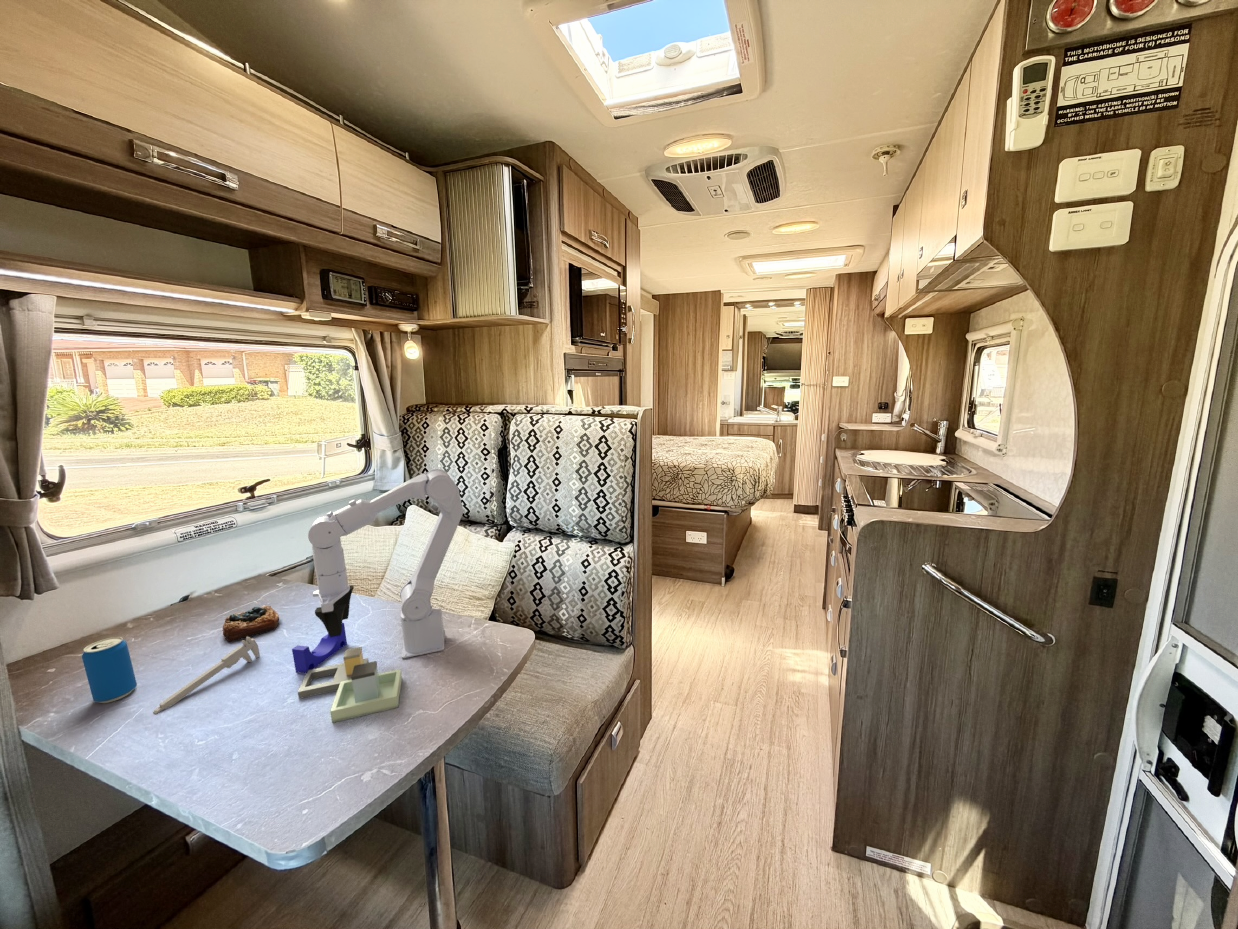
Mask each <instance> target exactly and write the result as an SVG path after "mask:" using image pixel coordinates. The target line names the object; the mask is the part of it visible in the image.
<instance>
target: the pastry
mask: <svg viewBox="0 0 1238 929" xmlns="http://www.w3.org/2000/svg"><path fill="white" fill-rule="evenodd" d="M279 620H280V615H279V613H278V612H277V611H276V610H275V609H273V607H271V605H264V606H262V607H261V606H254V607H251V609H250V610H246V611H242V612H235V613H232V614H230V615H229V616H227V617H226V618H225V619H224V624H223V625H222V636H223V637H224V638H225V639H226V640H227V641H228V643H232V642H236V641H240V640H243V639H245V640H246V637H250V638H251V637H254V636H255V637H256V636H259V635H261V634H264V633H268V632H270V631H274V630H276V629H277V627H278V626H279V623H280V622H279Z"/></svg>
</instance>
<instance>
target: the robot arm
mask: <svg viewBox="0 0 1238 929" xmlns="http://www.w3.org/2000/svg"><path fill="white" fill-rule="evenodd" d="M426 495H427V496H428V498H430V499H431V500H432V501H433V502H434V503H435V504H436V505H437V507H438V510H439V511H440V513H439V515H438V516H437V519H436V521H435V524H434V527H433V529H432V531H431V534H430V536H429V539H428V541H427V543H426V545H425V548H424V550H423V553H422V555H421V557H420V560H419V562H418V565H417V567H416V570H415V571H414V572H413V573H412V574H411V576H410V578H409V580H408V581H407V582H406V583H405V584H404V585H403V586H402V587H401V589H400V592H399V598H400V600H401V612H400V615H399V616H400V623H401V624H400V625H401V630H402V631H401V632H402V638H403V639H402V640H403V646H402V651H401V659H408V658H412V657H416V656H421V655H426V654H431V653H436V652H442V651H444V650H445V638H446V630H445V628H444V620H443V611H442V608H433V606H432V602H431V600H432V599H431V598H432V596H433V592H434V589H435V581H436V580H437V579H436V578H437V576H438V573H439V571H440V569H441V566H442V564H443V562H444V559H445V557H446V554H447V552H448V550H449V547H450V545H451V543H452V541H453V539H454V536H455V533H456V531H457V529H458V526H459V524H460V521H461V520H462V517H463V514H464V510H463V504H462V500H461V495H460V489H459V487H458V486H457V484H456V483H455V481H454V480H453V478H451V477H450V474H448V472H447V471H445V470H444V469H441V468H435V469H430V470H429V471H427V472H426V473H425V472H424V473H421V474H418V475H416V476H415V477H412V478H410V479H409V480H407V481H405V482H403V483H402V484H399V485H397V486H396V487H394V488H392V489H389V490H388V491H386V492H384V493H382V494H381V495H379V496H377V497H375V498H373V499H371V500H368V499H367V500H366V499H362V498H361V499H359V500H356V499H352V500H350V501H348V505H347V506H345V507H343V508H340V509H338V510H336V511H334V512H333V511H329V512H327V513H326V515H324V516H320V517H318V518H316V519H315V520H314V521H313V523H312V524H311V526H310V528H309V530H308V533H307V534H308V535H307V537H308V540H309V543H310V545H311V550H312V551H313V554H312V557H313V558H312V559H313V563H314V571H315V576H316V584H317V590H314V591H313V592H312V597H313V598H316V597H318V598H319V601H320V606H319V607H316V608H315V610H314V614H315V616H316V617H317V618H318V619H319V620H320V621H321V622H322V624H323V625H324V628H325V630H326V631H327V634H329V636H330V637H335V636H340V635H341V633H342V623H343V620H348V619H349V615H350V614H349V613H350V602H351V598H352V593H353V591H354V588H355V587H354V585H352V584H351V585H350V584H349V580H348V574H347V567H346V560H345V552H344V548H343V545H342V540H341V537H345V536H348V535H350V534H352V533H354V532H356V531H358V530H360V529H362V528H364V527H366V526H368V525H370V524H372V523H374V522H375V521H376V518H377V515H378V514H379V513H382V512H383V511H386V510H388V509H390V508H393V507H395V506H398V505H399V504H401V503H404V502H406V501H408V500H410V499H418V500H427V498H426Z"/></svg>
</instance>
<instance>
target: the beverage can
mask: <svg viewBox="0 0 1238 929" xmlns="http://www.w3.org/2000/svg"><path fill="white" fill-rule="evenodd" d="M81 659H82V662H83V667H84V670H85V674H86V678H87V682H88V685H89V689H90V693H91V696H92V700H93V702H95V703H101V704H109V703H112V702H115V701H118V700H121V699H123V698H125V697H127V696H129V695H130V694H131V693H133V690H135V688H137V686H138V683H137V680H136V674H135V671H134V667H133V663H132V658H131V655H130V650H129V646H128V643H127V641H125V640H124V638H123V637H121V636H113V637H107V638H105V639H104V638H103V639H101V640H98V641H95V642H92V643H90V644H88V645H87V646H86V647H84V648H83V653H82V655H81Z"/></svg>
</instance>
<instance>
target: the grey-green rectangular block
mask: <svg viewBox="0 0 1238 929" xmlns="http://www.w3.org/2000/svg"><path fill="white" fill-rule="evenodd" d="M377 664H378V661H370V662H369V663H365V664H360V665H355V666H354V669H353V672H352V676H351V679H352V684H353V691H354V697H355V703H359V702H363V701H368V700H372V699H376V698H379V693H380V685H379V678H378V674H379V672H378V665H377Z"/></svg>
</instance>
